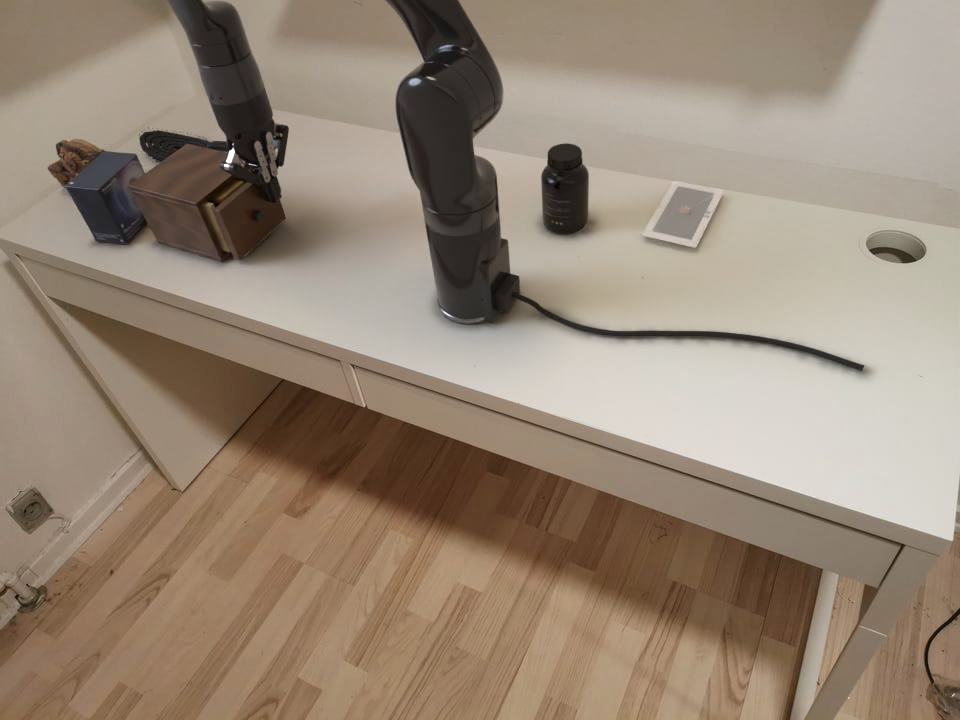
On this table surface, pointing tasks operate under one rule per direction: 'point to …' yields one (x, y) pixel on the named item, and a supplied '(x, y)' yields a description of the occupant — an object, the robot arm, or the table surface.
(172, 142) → the hairbrush
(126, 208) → the small box
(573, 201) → the supplement bottle
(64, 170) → the wooden carving
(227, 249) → the drawer
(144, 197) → the cabinet
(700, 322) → the table surface
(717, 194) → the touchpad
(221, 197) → the tea tin
